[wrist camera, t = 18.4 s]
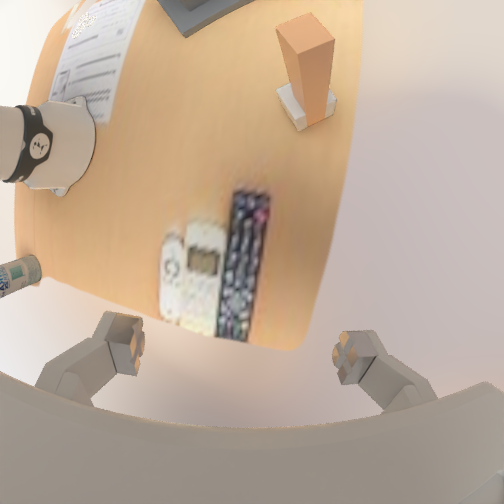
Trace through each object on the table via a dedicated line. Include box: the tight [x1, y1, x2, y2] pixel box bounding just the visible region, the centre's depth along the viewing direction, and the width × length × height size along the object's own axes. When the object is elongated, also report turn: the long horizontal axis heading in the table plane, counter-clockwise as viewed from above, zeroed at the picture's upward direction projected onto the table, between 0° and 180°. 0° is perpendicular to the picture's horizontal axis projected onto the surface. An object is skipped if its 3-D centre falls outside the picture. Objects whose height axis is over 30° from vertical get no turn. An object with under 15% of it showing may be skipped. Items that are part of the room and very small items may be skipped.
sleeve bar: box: [275, 12, 337, 132], centre depth 21 cm, size 20×5×4 cm
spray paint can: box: [0, 255, 41, 298], centre depth 38 cm, size 6×6×20 cm
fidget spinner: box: [72, 13, 96, 39], centre depth 32 cm, size 7×6×1 cm
